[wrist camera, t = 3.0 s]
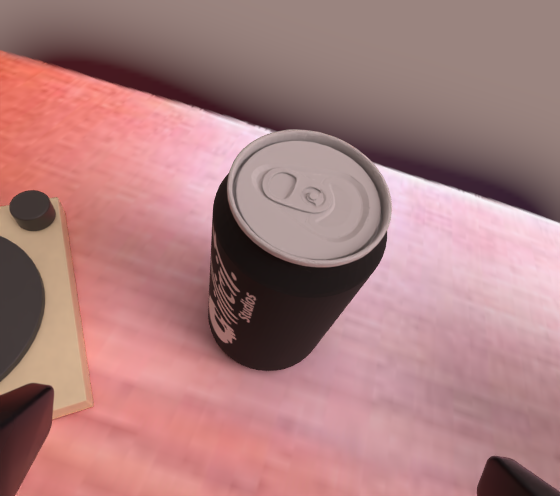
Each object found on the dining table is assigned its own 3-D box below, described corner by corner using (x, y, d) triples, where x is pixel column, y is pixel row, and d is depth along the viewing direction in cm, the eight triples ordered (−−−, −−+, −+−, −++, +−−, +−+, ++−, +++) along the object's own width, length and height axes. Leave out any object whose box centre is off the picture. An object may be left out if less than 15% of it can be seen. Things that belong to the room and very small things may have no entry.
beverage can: (300, 393, 22) (383, 308, 12) (188, 347, 23) (178, 227, 13) (332, 291, 26) (417, 159, 16) (234, 252, 26) (256, 98, 16)
